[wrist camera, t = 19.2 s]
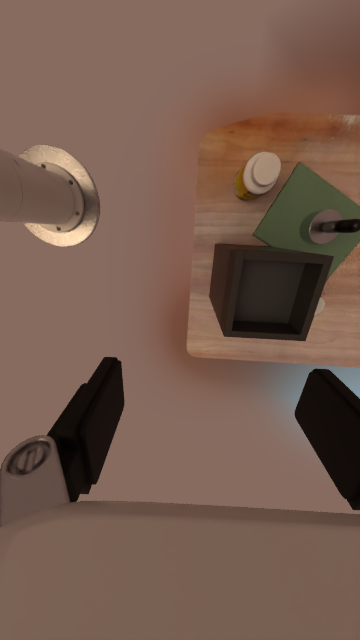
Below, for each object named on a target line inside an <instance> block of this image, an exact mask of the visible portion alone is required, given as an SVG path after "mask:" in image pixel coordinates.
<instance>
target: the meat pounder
mask: <svg viewBox="0 0 360 640" xmlns="http://www.w3.org/2000/svg"><path fill="white" fill-rule="evenodd" d="M359 230H360V219H347V220H342V216H341V214H340V213H339V212H338V211H336V210H334V209H326V210H320V211H315V212H312V213H310V214H309V215H308V216H306V217H305V219H304V220H303V222H302V223H301V226H300V236H301V238H302V239H303V241H305V242H307V243H313V244H326V243H328V242H330V241H332V240H333V239H334V238H336V236H337V235H338V234H339V233H355V232H358V231H359Z"/></svg>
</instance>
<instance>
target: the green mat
mask: <svg viewBox="0 0 360 640" xmlns="http://www.w3.org/2000/svg"><path fill="white" fill-rule="evenodd" d="M326 209H334V210H336V211H338V212H339V213H340V214H341V216H342V220H347V219H360V206H359V205H357V204H356V203H355V202H353V201H352V200H351V199H349V198H348V197H347V196H345V195H344V194H343V193H341V192H340V191H339V190H337V189H336V188H334V187H333V186H332V185H330V184H329V183H328V182H326V181H325V180H324V179H322V178H321V177H320V176H318V175H317V174H316V173H314V172H313V171H312V170H310V169H309V168H308V167H306V166H305V165H304V164H302V163H301V162H299V163H298V164H297V166H296V168H295V169H294V171H293V172H292V174H291V175H290V177H289V179H288V180H287V182H286V183H285V185H284V187H283V188H282V190H281V191H280V193H279V194H278V196H277V198H276V199H275V201H274V202H273V204H272V205H271V207H270V209H269V210H268V212H267V213H266V215H265V216H264V218H263V220H262V221H261V223H260V224H259V226H258V227H257V229H256V231H255V232H254V234H253V235H254V236H255V237H257V238H259V239H260V240H262V241H263V242H265V243H266V244H268V245H270V246H271V247H278V248H284V249H290V250H297V251H303V252H310V253H316V254H323V255H329V256H334V259H333V262H332V265H331V267H330V270H329V273H328V276H327V279H328V278H329V277H330V276H331V274H332V273H333V272H334V271H335V270H336V269H337V267H338V266H339V265H340V264H341V263H342V261H343V260H344V259H345V258H346V257H347V256H348V254H349V253H350V252H351V251H352V250H353V248H354V247H355V246H356V245H357V244H358V243H359V241H360V230H359V231H358V232H355V233H339V234H338V235H337V236H336V238H334V239H333V240H332V241H330V242H328V243H326V244H313V243H307V242H305V241H303V239H302V238H301V236H300V226H301V223H302V222H303V220H304V219H305V217H306V216H308V215H309V214H310V213H312V212H315V211H320V210H326ZM327 279H326V280H327Z"/></svg>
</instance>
